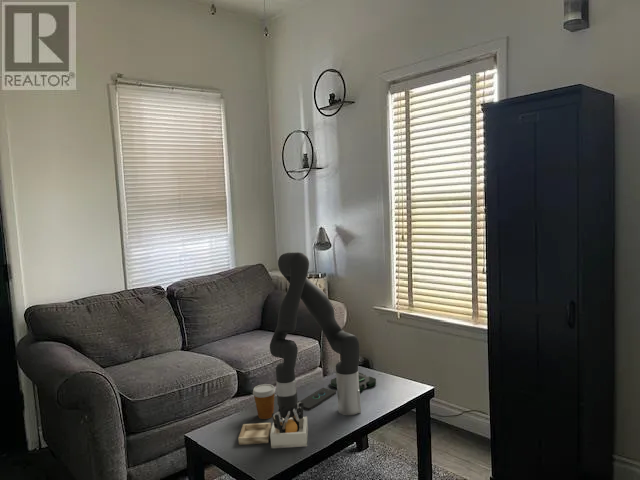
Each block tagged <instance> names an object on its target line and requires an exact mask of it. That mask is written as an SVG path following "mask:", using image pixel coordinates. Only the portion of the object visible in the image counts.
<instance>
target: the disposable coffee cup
mask: <svg viewBox="0 0 640 480" xmlns="http://www.w3.org/2000/svg"><path fill="white" fill-rule="evenodd" d="M275 392H276V387H275V386H274V385H273V384H268V383H264V384H263V383H262V384H259V385H256V386H254V388H253V391H252V395H253V398H254V403H255V407H256V411H257V416H258V418H259V419H261V420H268V419H271V418H272V414H273V413H275V411H274V409H275V394H276V393H275Z"/></svg>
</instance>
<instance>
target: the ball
mask: <svg viewBox="0 0 640 480" xmlns="http://www.w3.org/2000/svg"><path fill="white" fill-rule="evenodd" d="M285 432H286V433H290V432H297V424H296V422H295V421H293V420H288V421H287V423H286V425H285Z"/></svg>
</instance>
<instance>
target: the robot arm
mask: <svg viewBox="0 0 640 480" xmlns="http://www.w3.org/2000/svg"><path fill="white" fill-rule="evenodd" d="M277 267H278V270H279V272H280V273H281V274H282V276H283V277H284V278H285V280H286V281H287V282H288V284H289V285H288V288H287V292H286V293H285V296H284V298H283V299H282V301H281V303H280V305H279V311H278V316H277V323H276V328H275V330H274V333H273V335H272V337H271V340H270V342H269V351H270V354H271V356H273V357H275V358H279V359H283V362H280V363H278V364H277V365H276V367H275V378H276V384H275V385H276V387H275V391H276V400H277V405H278V410H277V412H274V413H273V414H272V417H271V418H272V424H273V423H274V428H276V429H278V430H279V431H280V433H286V432H285V425H286V423H287V421H288V419H289V418H293V420H294V421H295V422H296V424H297V432H298V431H299V421H300V419H302V418H303V417H304V409H303V406H304V404H303V403H302V402H299V401H300V400H299V401H298V388H297V382H296V371H295V367H296V362H297V357H298V351H299V349H298V348H299V347H298V345H297V343H296V342H295V341H294V340H292V339H287V335H288V334H292V333H294V332H295V331H296V328H297V319H298V314H299V313H298V312H299V306H300V301H302V303H303V304H304V306H305V307H306V309H307V310H308V312H309V314H310V315H311V317H313V319H314V321H315V323H317V325H318V327H319V328H320V329H321V331H322V332H323V334H324V336H325V338H326V339H327V342H328V344H329V346H330V348H331V349H332V351H334V352H335V353H336V354H340V358H341V359H340V361H338V362H337V363H336V364H335V374H336V375H335V376H336V377H335V378H336V379H337V388H336V395H337V409H338V413H339V414H341V415H344V416H354V415H357V414H361V413H362V407H361V391H360V390H359V377H358V372H359V364H360V356H361V355H360V341H359V338H358V337H357V335H355V334H352V333H350V332H347V331H345V330H344V329H342V327H341V326H340V325H339V324H338V322H337V320H336V316H335V310H334V306H333V304H332V302H331V301H330V299H329V297H328V295H326V293H325V292H324V290H322V289H321V288H320V287H318V285H316V284H315V283H313V282H312V281H311V280H310V279H309V278H308V277H307V276H308V273H309V269H310V260H309V258H308V256H307V255H306V254H305V253H303V252H285V253H282V254H281V255H280V256H279V258H278V260H277ZM283 418H284V419H285V420H283ZM282 422H283V424H282Z"/></svg>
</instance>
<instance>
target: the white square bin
mask: <svg viewBox="0 0 640 480" xmlns="http://www.w3.org/2000/svg"><path fill="white" fill-rule="evenodd" d="M283 420H285V419H284V418H283ZM288 420H293V418H292V417H291V418H289V419H288ZM293 421H294V420H293ZM282 424H283V422H282ZM308 425H309V423H308V416H303V418H302V419H300V421H299V431H298V432H290V433H280V431H279V430H278V429H276V428H274V423H273V422H272V424H271V433H270V438H269V439H270V449H283V448H300V447H308V436H309V435H308V433H309V426H308Z"/></svg>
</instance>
